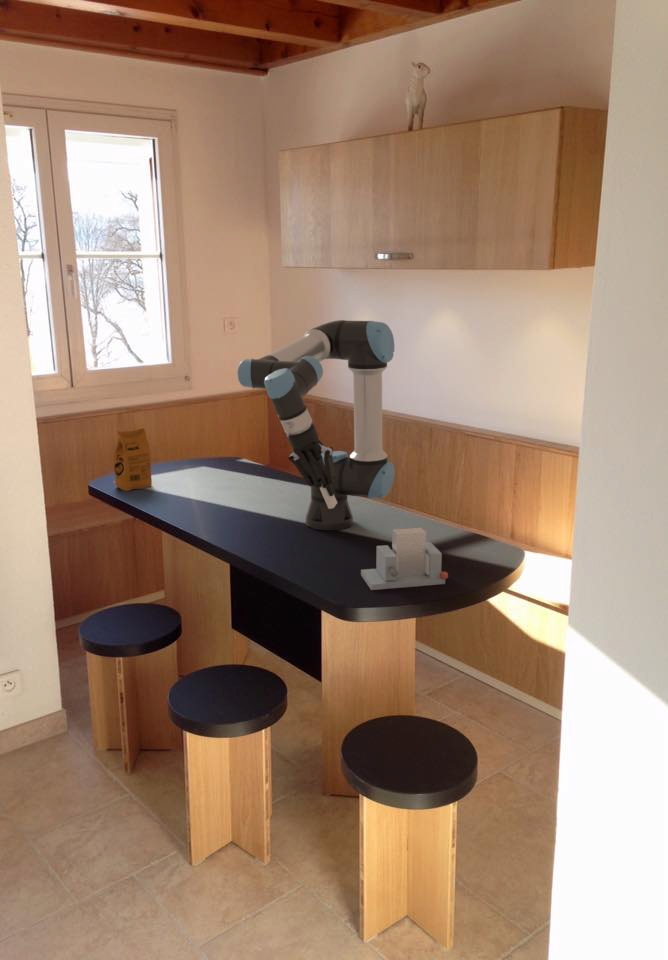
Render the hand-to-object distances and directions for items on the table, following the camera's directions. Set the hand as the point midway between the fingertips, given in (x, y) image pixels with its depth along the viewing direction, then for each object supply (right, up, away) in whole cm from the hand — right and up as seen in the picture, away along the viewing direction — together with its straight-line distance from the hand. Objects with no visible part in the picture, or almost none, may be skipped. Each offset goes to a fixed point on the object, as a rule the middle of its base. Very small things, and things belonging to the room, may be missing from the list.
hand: (332, 505), depth 226 cm
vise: (+18, -20, +1) cm, 27 cm away
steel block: (+20, -18, +1) cm, 27 cm away
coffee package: (-74, +4, +93) cm, 119 cm away
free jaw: (+15, -19, -2) cm, 24 cm away
